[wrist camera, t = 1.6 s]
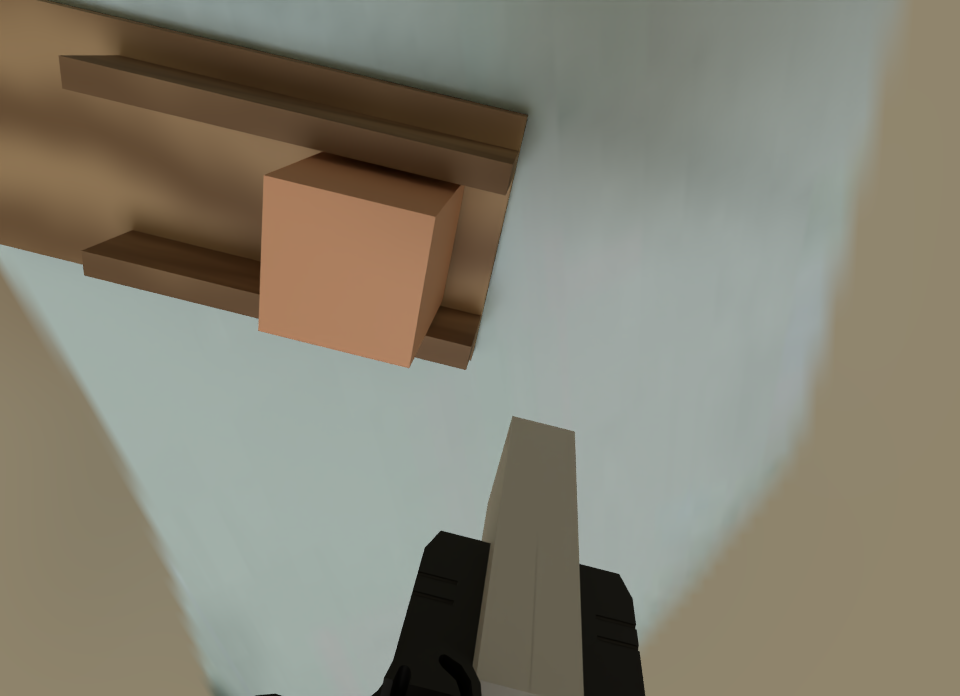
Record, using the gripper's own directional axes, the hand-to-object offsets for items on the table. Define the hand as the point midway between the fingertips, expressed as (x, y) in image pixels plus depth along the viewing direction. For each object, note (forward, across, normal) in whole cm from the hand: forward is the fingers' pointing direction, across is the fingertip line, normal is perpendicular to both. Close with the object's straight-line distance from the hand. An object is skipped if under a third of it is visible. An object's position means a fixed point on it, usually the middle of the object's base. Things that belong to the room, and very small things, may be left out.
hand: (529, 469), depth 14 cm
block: (+15, -8, 0) cm, 17 cm away
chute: (+16, -16, 0) cm, 22 cm away
